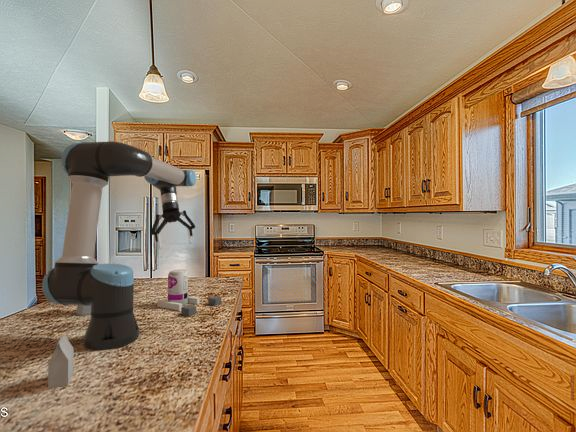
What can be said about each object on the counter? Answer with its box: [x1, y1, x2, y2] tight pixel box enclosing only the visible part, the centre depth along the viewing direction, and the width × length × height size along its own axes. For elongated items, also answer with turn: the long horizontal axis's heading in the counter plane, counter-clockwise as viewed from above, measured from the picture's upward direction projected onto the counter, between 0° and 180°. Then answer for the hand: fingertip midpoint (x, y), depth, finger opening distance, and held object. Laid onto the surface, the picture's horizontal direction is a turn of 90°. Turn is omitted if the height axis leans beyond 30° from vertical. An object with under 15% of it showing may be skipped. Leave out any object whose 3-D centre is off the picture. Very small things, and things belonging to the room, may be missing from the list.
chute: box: [156, 295, 222, 317], centre depth 134 cm, size 20×22×3 cm
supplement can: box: [167, 269, 189, 307], centre depth 136 cm, size 8×8×15 cm
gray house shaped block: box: [47, 333, 75, 391], centre depth 73 cm, size 4×7×10 cm, turn 26°
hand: (175, 245), depth 145 cm, fingers open, 13 cm apart
